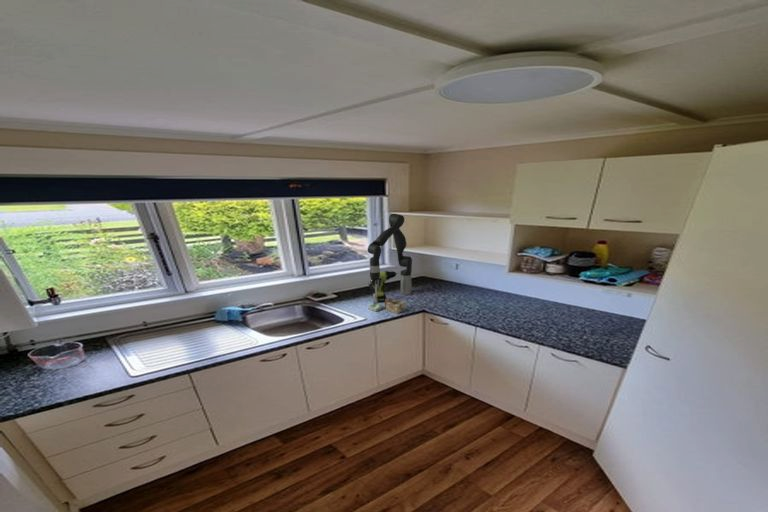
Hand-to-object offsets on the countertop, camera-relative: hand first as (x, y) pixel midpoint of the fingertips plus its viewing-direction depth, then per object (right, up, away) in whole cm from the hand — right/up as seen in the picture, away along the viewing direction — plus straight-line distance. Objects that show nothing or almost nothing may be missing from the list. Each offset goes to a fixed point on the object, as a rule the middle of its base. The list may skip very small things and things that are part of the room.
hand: (375, 292), depth 235 cm
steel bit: (0, -9, +2) cm, 9 cm away
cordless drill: (+7, -9, +20) cm, 23 cm away
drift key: (+10, -12, +4) cm, 16 cm away
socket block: (+15, -13, 0) cm, 20 cm away
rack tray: (0, -13, +3) cm, 13 cm away
